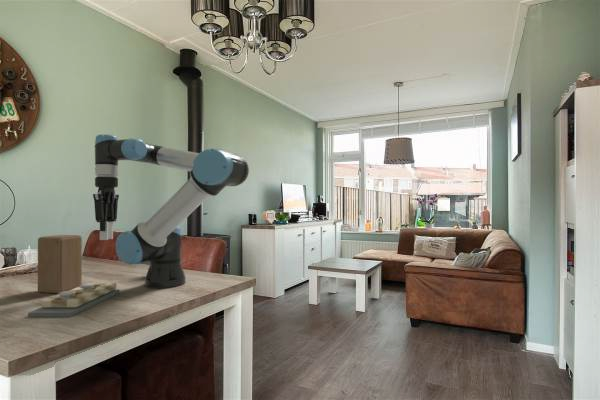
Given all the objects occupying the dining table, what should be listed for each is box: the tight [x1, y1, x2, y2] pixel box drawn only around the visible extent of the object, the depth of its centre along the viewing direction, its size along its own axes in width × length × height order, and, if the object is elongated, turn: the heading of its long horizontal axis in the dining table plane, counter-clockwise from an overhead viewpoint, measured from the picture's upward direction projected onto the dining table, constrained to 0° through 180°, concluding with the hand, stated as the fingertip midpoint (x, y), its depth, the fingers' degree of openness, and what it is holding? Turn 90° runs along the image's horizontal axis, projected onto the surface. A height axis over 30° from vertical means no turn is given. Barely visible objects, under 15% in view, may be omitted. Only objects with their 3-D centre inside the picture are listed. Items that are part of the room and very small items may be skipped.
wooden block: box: [37, 234, 83, 294], centre depth 128 cm, size 10×10×20 cm
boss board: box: [27, 282, 120, 318], centre depth 111 cm, size 26×12×5 cm, turn 0°
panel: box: [41, 282, 117, 307], centre depth 113 cm, size 22×10×2 cm, turn 0°
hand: (106, 239), depth 130 cm, fingers open, 3 cm apart
